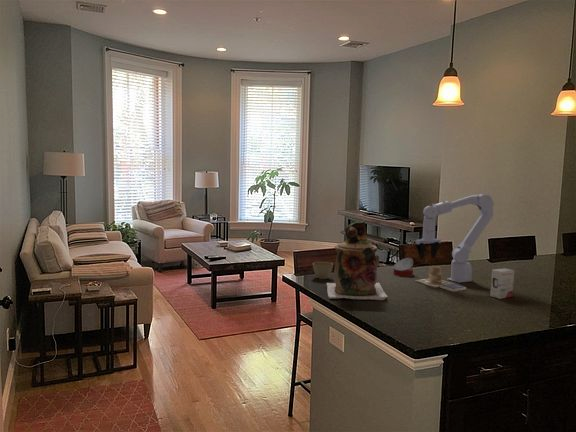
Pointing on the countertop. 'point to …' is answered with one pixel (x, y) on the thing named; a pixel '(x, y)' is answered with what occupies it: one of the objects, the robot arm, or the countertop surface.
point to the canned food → (403, 267)
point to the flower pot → (322, 269)
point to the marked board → (426, 282)
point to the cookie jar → (356, 267)
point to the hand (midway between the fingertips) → (427, 258)
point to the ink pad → (452, 287)
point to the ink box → (502, 283)
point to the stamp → (435, 274)
